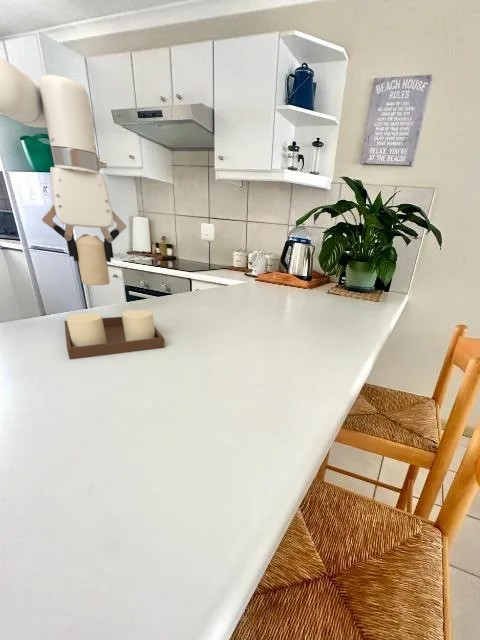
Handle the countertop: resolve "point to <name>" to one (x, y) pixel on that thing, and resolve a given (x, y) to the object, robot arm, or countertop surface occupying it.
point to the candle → (92, 260)
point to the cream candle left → (86, 329)
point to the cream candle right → (138, 325)
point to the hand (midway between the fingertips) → (92, 259)
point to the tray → (113, 341)
